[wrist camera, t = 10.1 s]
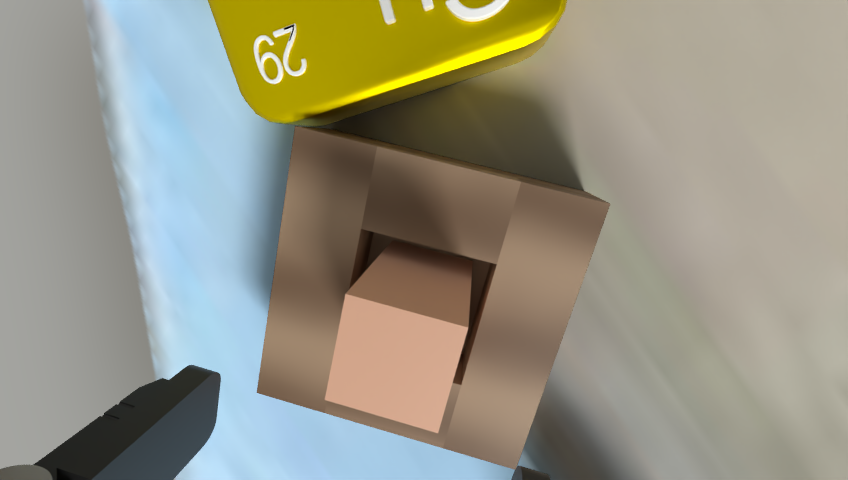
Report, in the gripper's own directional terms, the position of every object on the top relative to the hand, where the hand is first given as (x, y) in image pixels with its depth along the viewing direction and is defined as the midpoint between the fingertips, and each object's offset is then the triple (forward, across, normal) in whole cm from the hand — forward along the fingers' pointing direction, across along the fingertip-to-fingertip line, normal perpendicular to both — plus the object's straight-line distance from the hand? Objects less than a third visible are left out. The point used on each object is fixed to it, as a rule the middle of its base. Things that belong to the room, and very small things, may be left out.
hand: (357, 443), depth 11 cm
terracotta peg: (+12, 0, 0) cm, 12 cm away
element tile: (+15, +6, -16) cm, 22 cm away
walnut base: (+14, 0, 0) cm, 14 cm away
